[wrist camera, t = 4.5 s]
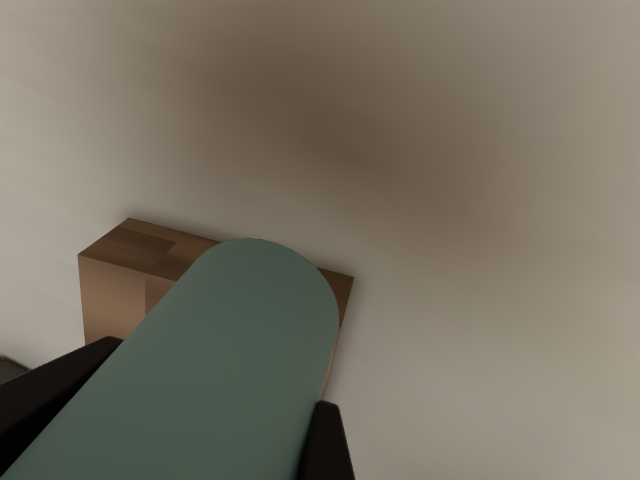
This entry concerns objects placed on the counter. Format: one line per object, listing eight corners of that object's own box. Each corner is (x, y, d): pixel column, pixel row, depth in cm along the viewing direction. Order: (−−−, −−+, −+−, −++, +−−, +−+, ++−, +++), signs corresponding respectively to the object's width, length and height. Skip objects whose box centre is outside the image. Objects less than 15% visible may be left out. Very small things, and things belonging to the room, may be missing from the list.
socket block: (312, 437, 28) (296, 497, 25) (132, 383, 30) (92, 434, 26) (353, 277, 23) (341, 327, 19) (128, 218, 24) (77, 254, 20)
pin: (321, 389, 12) (185, 892, 5) (181, 347, 13) (-120, 767, 6) (355, 265, 10) (217, 794, 3) (190, 218, 11) (-248, 615, 4)
